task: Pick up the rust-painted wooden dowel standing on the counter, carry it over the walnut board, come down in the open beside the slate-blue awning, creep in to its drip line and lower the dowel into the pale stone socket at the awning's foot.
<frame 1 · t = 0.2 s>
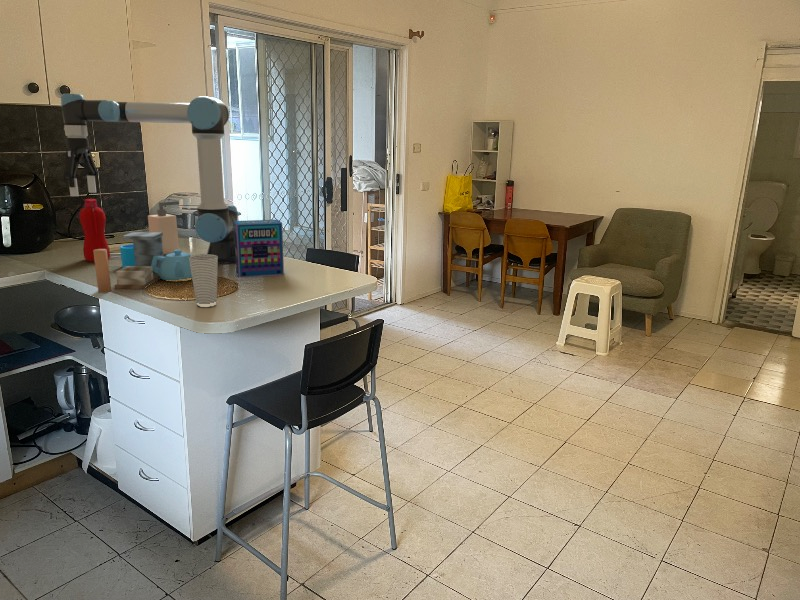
hand: (83, 194, 229), 28 cm above the worktop, fingers open, 13 cm apart
mug: (138, 266, 237), on the worktop
socket station: (141, 281, 213), on the worktop
box: (260, 274, 229), on the worktop
cup: (206, 305, 187), on the worktop
teapot: (180, 279, 219), on the worktop
soap dispenser: (169, 251, 266), on the worktop
water bottle: (98, 260, 245), on the worktop
peg: (104, 290, 200), on the worktop
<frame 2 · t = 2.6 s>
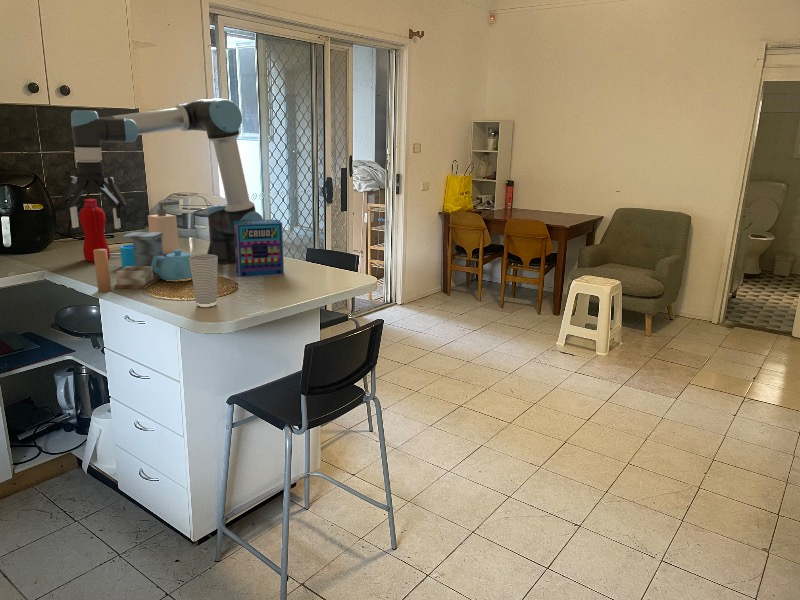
hand: (96, 227, 194), 21 cm above the worktop, fingers open, 13 cm apart
nothing on the worktop moved.
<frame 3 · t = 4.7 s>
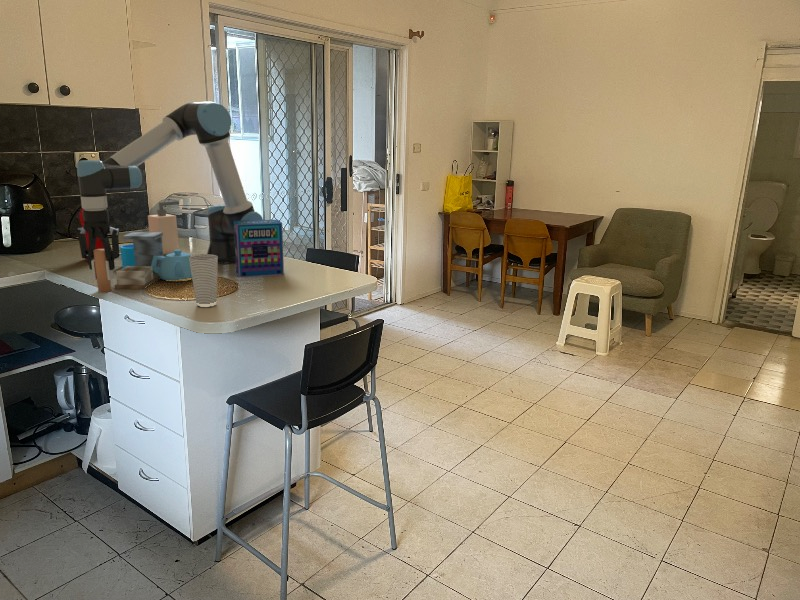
hand: (103, 278, 199), 4 cm above the worktop, fingers closed on peg, 4 cm apart
peg: (104, 290, 200), on the worktop, touching gripper
everything else where it was.
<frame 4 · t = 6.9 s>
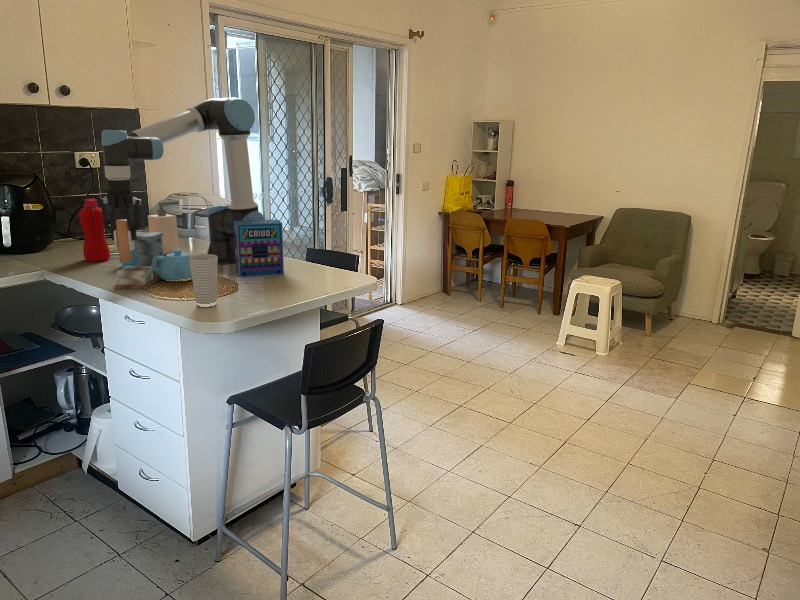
hand: (125, 249, 200), 14 cm above the worktop, fingers closed on peg, 4 cm apart
peg: (126, 261, 201), point 10 cm above the worktop, touching gripper
everything else where it was.
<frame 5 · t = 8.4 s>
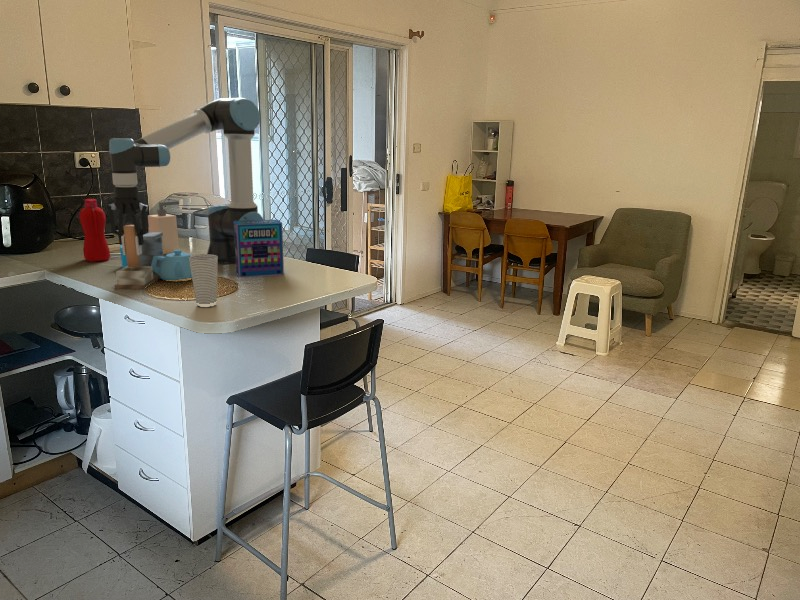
hand: (132, 254, 206), 11 cm above the worktop, fingers closed on peg, 4 cm apart
peg: (133, 265, 207), point 7 cm above the worktop, touching gripper
everything else where it was.
when the fingers open (7 cm above the worktop, at t = 9.3 s): peg drops 2 cm, resting on socket station.
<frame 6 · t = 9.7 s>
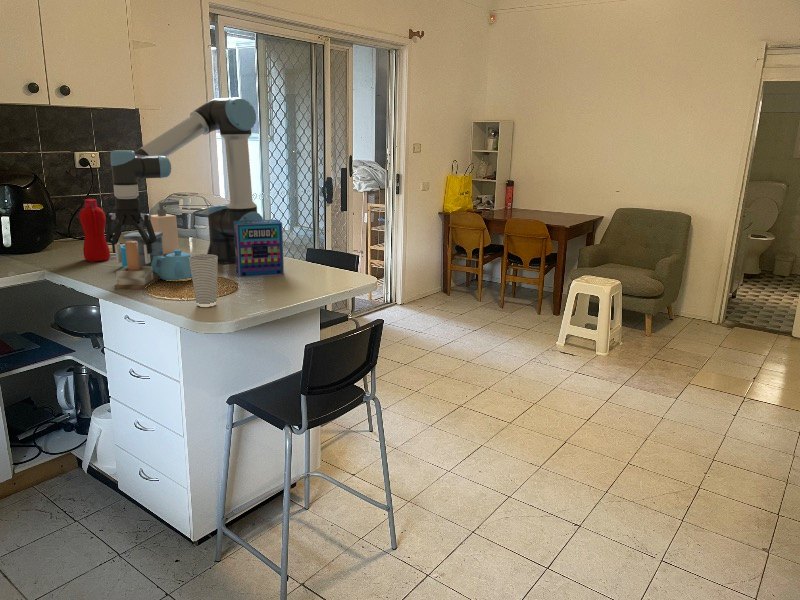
hand: (133, 262, 206), 8 cm above the worktop, fingers open, 9 cm apart
peg: (135, 281, 208), point 1 cm above the worktop, touching socket station
everything else where it was.
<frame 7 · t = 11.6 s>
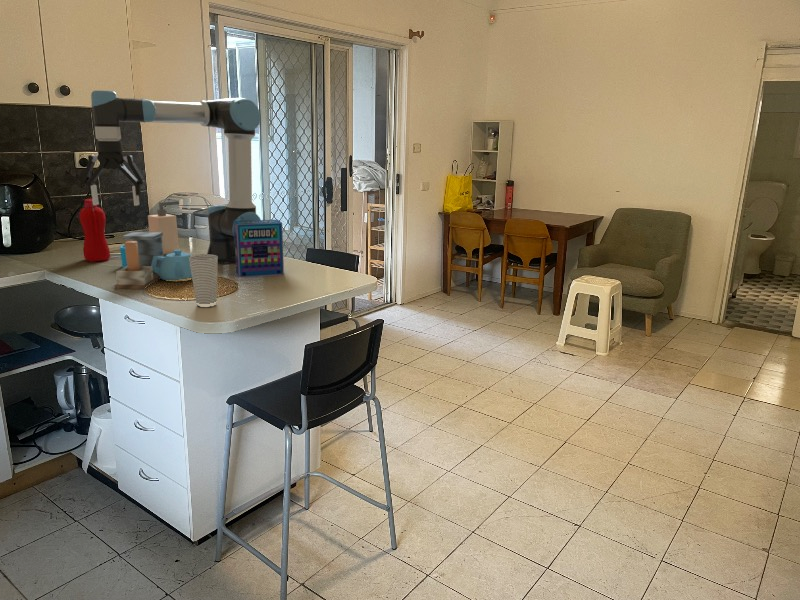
hand: (116, 205, 202), 28 cm above the worktop, fingers open, 13 cm apart
nothing on the worktop moved.
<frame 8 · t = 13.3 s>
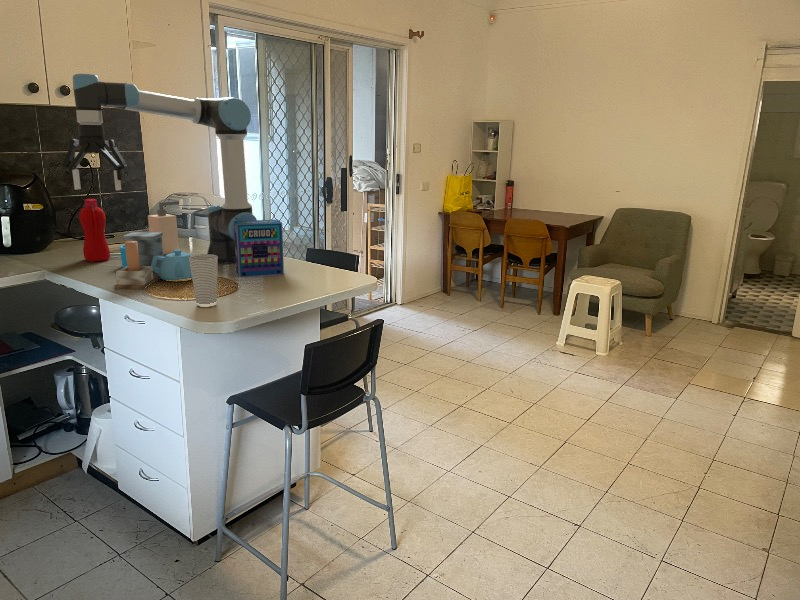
hand: (98, 189, 201), 33 cm above the worktop, fingers open, 13 cm apart
nothing on the worktop moved.
at the end: peg 0.1 cm from the target spot on the socket station, point 1.2 cm above the socket station's base; peg tilted 1°; the gripper is holding nothing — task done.
